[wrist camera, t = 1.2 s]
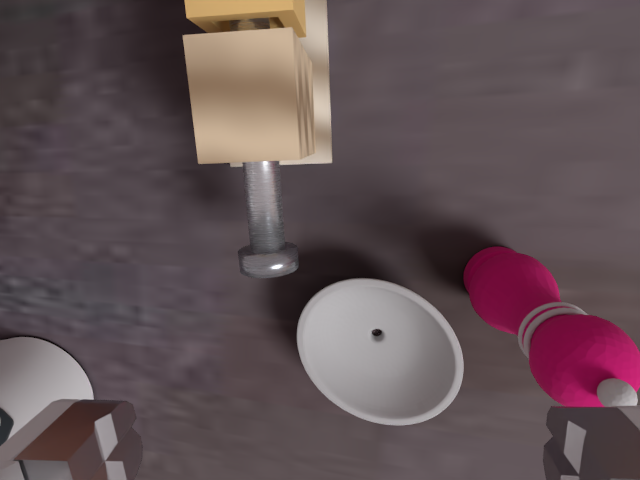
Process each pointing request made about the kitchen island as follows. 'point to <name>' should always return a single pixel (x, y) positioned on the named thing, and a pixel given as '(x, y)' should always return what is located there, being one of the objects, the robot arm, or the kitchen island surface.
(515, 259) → the pepper mill
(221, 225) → the kitchen island surface
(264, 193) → the shaft
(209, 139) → the bracket
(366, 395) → the dish
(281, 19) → the block
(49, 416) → the robot arm
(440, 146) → the kitchen island surface
